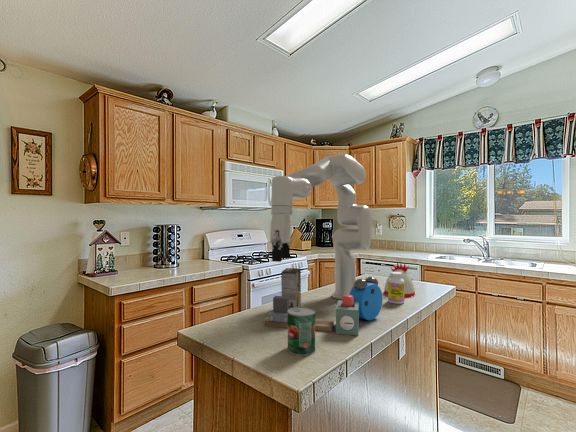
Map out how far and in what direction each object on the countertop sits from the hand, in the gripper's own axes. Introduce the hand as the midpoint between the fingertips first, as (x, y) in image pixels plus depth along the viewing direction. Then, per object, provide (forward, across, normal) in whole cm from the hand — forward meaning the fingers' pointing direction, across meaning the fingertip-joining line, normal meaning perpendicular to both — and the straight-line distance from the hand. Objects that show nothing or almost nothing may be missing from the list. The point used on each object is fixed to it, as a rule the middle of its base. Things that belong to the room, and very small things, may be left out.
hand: (281, 259), depth 109 cm
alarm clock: (+22, -13, +29) cm, 39 cm away
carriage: (+20, 0, 0) cm, 21 cm away
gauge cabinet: (+22, -1, +23) cm, 32 cm away
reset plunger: (+16, -1, +23) cm, 28 cm away
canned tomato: (+23, +19, +12) cm, 32 cm away
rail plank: (+22, 0, +7) cm, 23 cm away
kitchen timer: (+21, -55, +43) cm, 73 cm away
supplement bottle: (+21, -38, +41) cm, 60 cm away
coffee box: (+22, -16, 0) cm, 27 cm away
